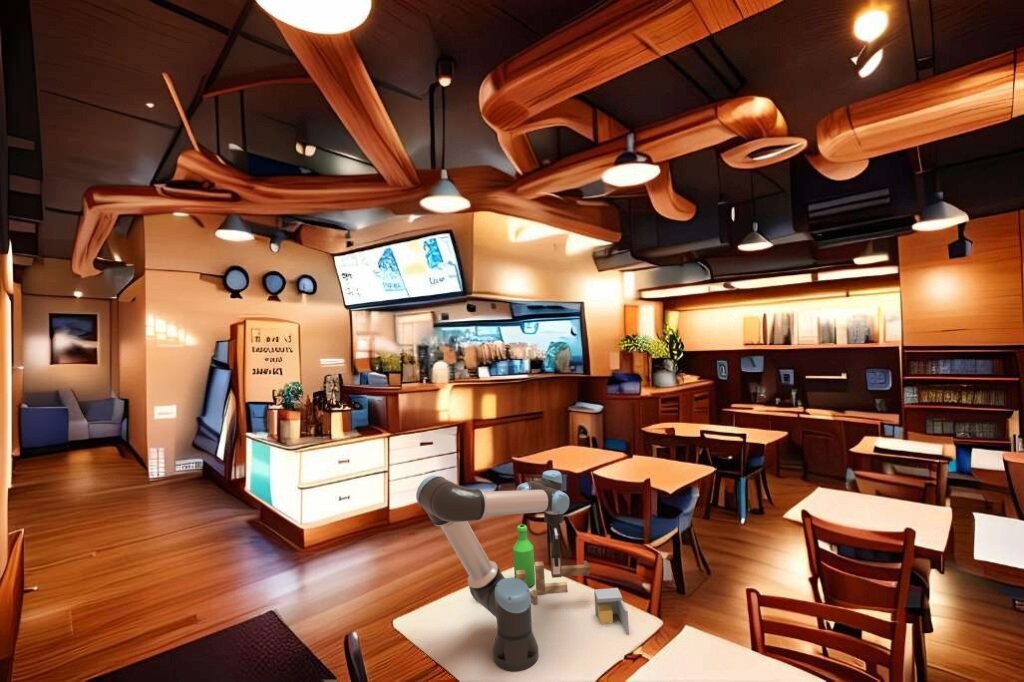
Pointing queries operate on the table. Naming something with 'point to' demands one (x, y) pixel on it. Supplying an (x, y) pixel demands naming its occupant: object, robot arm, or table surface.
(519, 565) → the bottle
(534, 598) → the tee
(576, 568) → the brown l-shaped piece
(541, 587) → the wooden l-shaped block
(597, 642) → the table surface
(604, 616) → the cube
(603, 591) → the grey angled piece
